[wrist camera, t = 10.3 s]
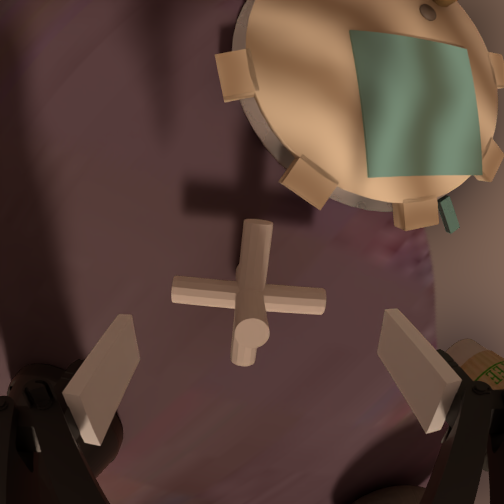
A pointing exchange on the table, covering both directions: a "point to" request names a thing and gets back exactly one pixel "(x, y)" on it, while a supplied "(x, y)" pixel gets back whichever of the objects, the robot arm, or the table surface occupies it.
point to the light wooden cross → (249, 293)
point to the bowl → (394, 495)
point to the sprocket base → (286, 157)
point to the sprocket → (372, 98)
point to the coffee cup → (479, 367)
